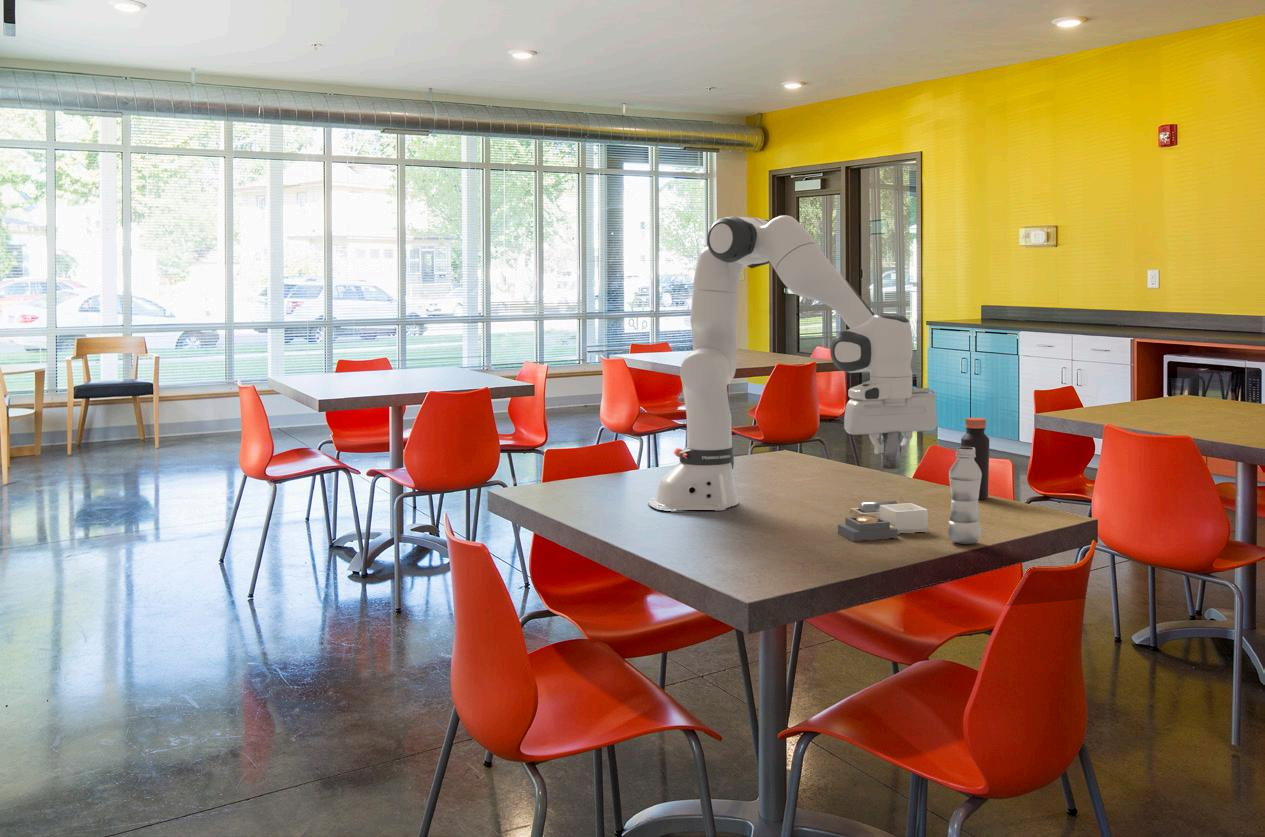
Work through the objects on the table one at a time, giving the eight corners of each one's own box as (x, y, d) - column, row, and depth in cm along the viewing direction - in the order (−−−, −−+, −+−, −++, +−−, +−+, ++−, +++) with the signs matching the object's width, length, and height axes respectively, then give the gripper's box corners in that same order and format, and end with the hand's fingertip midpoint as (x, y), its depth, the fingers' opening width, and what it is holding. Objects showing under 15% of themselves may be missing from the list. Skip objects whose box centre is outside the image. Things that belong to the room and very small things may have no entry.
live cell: (865, 522, 237) (866, 504, 237) (858, 518, 241) (858, 501, 241) (901, 519, 239) (901, 502, 239) (892, 516, 243) (893, 499, 243)
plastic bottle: (987, 545, 218) (989, 449, 215) (958, 548, 216) (960, 451, 213) (969, 538, 224) (971, 445, 222) (940, 541, 222) (942, 446, 220)
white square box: (895, 534, 229) (895, 511, 228) (879, 527, 236) (879, 505, 235) (927, 532, 230) (927, 509, 230) (910, 524, 238) (911, 503, 237)
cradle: (853, 541, 223) (853, 525, 223) (837, 533, 231) (838, 517, 230) (897, 538, 225) (897, 522, 225) (880, 530, 233) (880, 514, 233)
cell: (886, 469, 226) (886, 429, 225) (878, 466, 230) (878, 427, 229) (903, 468, 227) (903, 428, 226) (895, 465, 231) (895, 426, 230)
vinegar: (988, 495, 269) (990, 417, 266) (987, 500, 263) (989, 420, 260) (961, 494, 271) (962, 416, 269) (958, 499, 265) (960, 419, 263)
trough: (861, 527, 236) (862, 513, 236) (850, 521, 242) (850, 508, 242) (907, 523, 239) (907, 510, 238) (894, 518, 245) (894, 505, 244)
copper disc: (862, 525, 225) (862, 521, 225) (852, 521, 229) (852, 517, 229) (882, 524, 226) (882, 520, 226) (872, 519, 230) (872, 516, 230)
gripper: (928, 386, 232) (928, 448, 234) (841, 390, 228) (841, 453, 230) (942, 388, 226) (942, 452, 228) (853, 392, 222) (853, 457, 223)
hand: (890, 453), depth 229 cm, fingers closed on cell, 4 cm apart
